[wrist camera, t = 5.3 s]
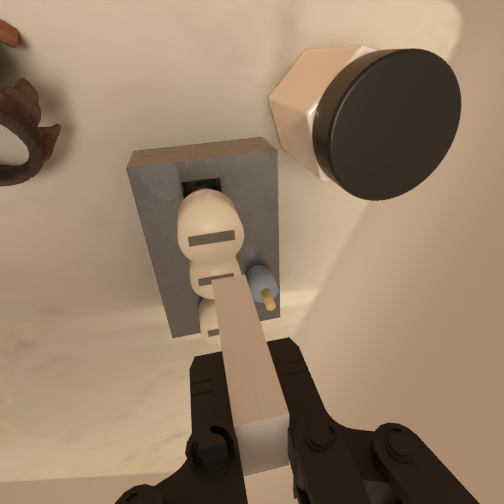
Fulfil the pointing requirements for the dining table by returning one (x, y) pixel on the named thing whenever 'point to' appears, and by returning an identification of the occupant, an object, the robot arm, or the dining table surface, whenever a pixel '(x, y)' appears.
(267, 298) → the potentiometer
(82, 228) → the dining table surface
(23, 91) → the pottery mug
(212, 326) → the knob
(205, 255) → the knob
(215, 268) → the knob middle
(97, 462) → the dining table surface
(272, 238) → the panel
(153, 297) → the dining table surface
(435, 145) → the jar
